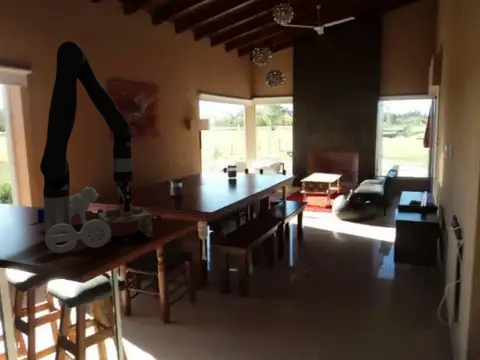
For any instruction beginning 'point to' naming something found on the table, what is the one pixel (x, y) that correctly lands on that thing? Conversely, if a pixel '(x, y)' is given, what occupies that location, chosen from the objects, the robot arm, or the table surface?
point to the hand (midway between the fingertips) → (124, 209)
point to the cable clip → (41, 215)
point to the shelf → (140, 215)
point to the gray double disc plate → (78, 235)
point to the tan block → (122, 213)
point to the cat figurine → (82, 202)
